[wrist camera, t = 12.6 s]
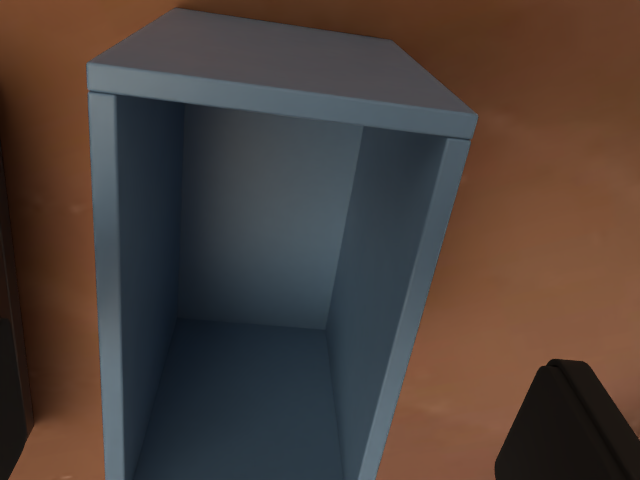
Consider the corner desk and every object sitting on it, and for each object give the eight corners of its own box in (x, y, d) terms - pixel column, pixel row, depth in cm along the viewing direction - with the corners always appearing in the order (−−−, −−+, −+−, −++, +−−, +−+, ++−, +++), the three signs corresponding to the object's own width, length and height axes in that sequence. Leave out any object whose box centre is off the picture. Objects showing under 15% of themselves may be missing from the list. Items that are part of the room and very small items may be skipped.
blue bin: (174, 7, 17) (84, 61, 9) (392, 39, 18) (480, 115, 10) (166, 319, 23) (106, 520, 15) (334, 332, 24) (361, 529, 16)
